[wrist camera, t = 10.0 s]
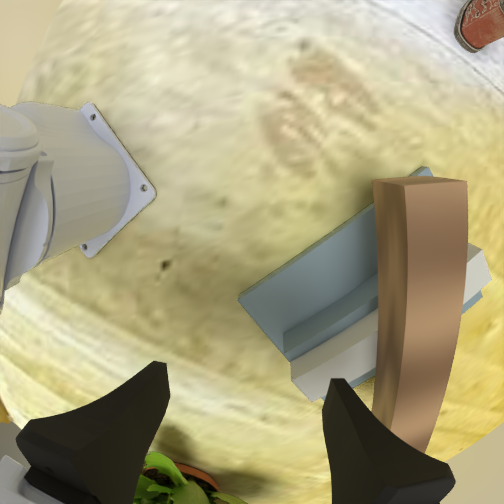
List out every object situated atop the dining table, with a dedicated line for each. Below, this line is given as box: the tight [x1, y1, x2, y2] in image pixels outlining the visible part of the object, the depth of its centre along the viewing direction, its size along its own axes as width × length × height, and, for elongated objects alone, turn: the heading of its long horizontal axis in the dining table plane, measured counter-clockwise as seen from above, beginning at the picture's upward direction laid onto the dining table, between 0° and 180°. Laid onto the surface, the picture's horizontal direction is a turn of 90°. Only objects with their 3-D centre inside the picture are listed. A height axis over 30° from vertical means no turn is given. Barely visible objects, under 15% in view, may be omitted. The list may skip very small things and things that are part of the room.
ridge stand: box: [238, 167, 492, 402], centre depth 18 cm, size 16×12×6 cm
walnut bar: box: [372, 176, 468, 453], centre depth 14 cm, size 18×3×4 cm, turn 9°
